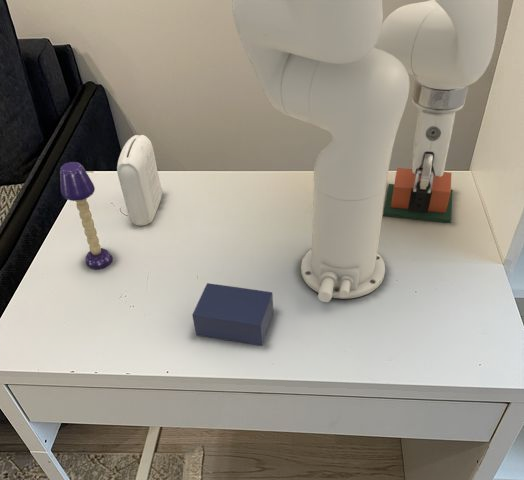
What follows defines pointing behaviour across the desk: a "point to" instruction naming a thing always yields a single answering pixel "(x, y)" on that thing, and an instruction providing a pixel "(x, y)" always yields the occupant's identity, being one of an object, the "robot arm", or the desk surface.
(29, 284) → the desk surface
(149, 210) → the photo printer
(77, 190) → the toy lamp
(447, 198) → the orange rectangular brick
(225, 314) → the navy blue rectangular block
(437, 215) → the mat
